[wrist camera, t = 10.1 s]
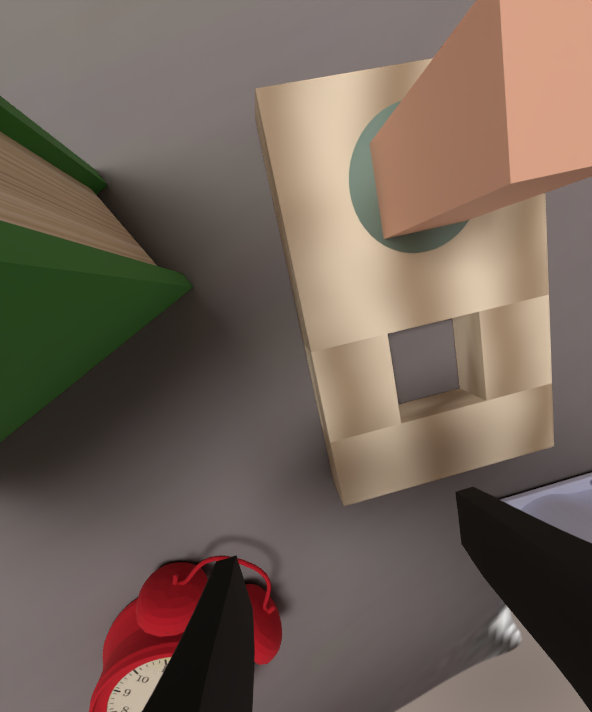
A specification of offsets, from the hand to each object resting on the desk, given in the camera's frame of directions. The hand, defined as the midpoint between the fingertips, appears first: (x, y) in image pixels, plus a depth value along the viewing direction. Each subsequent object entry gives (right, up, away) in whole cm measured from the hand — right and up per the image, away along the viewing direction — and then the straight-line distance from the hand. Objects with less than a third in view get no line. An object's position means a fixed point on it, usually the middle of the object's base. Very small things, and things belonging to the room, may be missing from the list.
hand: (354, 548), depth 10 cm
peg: (+4, +15, +6) cm, 16 cm away
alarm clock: (-9, -13, +13) cm, 20 cm away
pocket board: (+5, +10, +9) cm, 14 cm away
